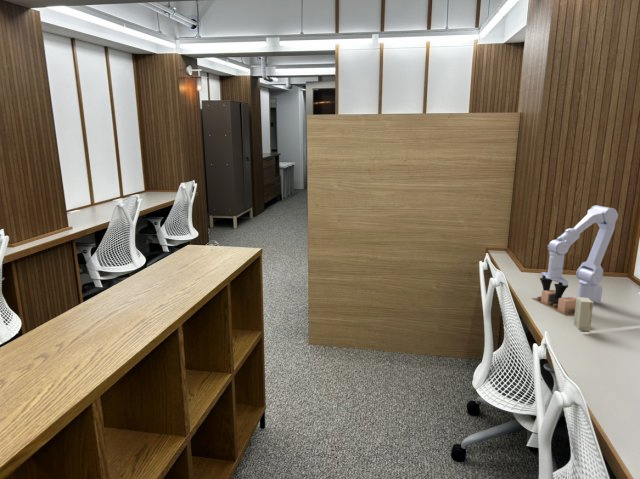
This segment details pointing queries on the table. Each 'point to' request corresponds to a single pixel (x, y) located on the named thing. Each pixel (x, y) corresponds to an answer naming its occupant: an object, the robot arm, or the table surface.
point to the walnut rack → (555, 306)
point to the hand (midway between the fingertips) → (552, 296)
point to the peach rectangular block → (548, 296)
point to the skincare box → (583, 314)
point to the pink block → (566, 304)
